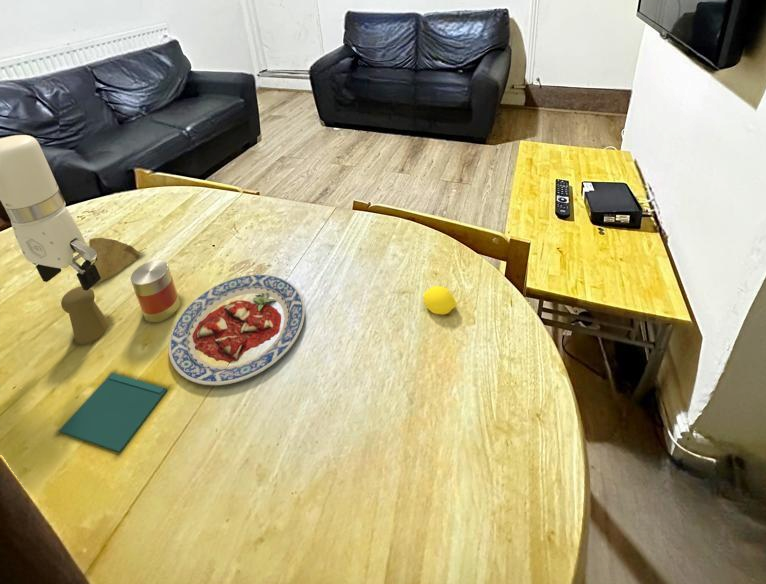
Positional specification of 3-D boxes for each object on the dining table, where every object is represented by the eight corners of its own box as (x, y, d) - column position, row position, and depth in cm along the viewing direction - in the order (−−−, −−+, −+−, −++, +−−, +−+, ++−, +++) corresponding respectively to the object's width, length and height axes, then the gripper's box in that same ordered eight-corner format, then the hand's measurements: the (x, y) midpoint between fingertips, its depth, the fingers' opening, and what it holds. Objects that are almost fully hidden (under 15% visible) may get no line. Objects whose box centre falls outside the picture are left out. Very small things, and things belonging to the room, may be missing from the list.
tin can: (137, 321, 86) (121, 281, 81) (161, 296, 92) (148, 257, 87) (164, 328, 84) (150, 287, 79) (187, 302, 90) (175, 262, 86)
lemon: (419, 315, 85) (419, 295, 82) (426, 295, 89) (427, 276, 87) (452, 325, 82) (453, 305, 80) (458, 304, 87) (459, 285, 85)
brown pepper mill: (68, 341, 82) (48, 300, 77) (96, 318, 87) (79, 278, 82) (89, 350, 80) (70, 308, 75) (117, 325, 85) (101, 285, 80)
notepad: (61, 435, 66) (58, 429, 65) (113, 377, 75) (111, 371, 74) (121, 456, 63) (118, 450, 62) (168, 392, 72) (166, 387, 71)
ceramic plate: (210, 425, 66) (206, 413, 65) (149, 334, 83) (145, 324, 81) (331, 323, 83) (330, 313, 82) (261, 265, 100) (259, 255, 98)
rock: (143, 239, 106) (96, 247, 102) (137, 228, 100) (88, 236, 96) (143, 282, 101) (94, 291, 97) (137, 274, 95) (85, 283, 91)
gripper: (-24, 212, 70) (18, 288, 77) (53, 225, 65) (90, 304, 72) (21, 188, 76) (56, 260, 83) (94, 198, 72) (125, 273, 79)
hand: (72, 280), depth 78 cm, fingers open, 9 cm apart
